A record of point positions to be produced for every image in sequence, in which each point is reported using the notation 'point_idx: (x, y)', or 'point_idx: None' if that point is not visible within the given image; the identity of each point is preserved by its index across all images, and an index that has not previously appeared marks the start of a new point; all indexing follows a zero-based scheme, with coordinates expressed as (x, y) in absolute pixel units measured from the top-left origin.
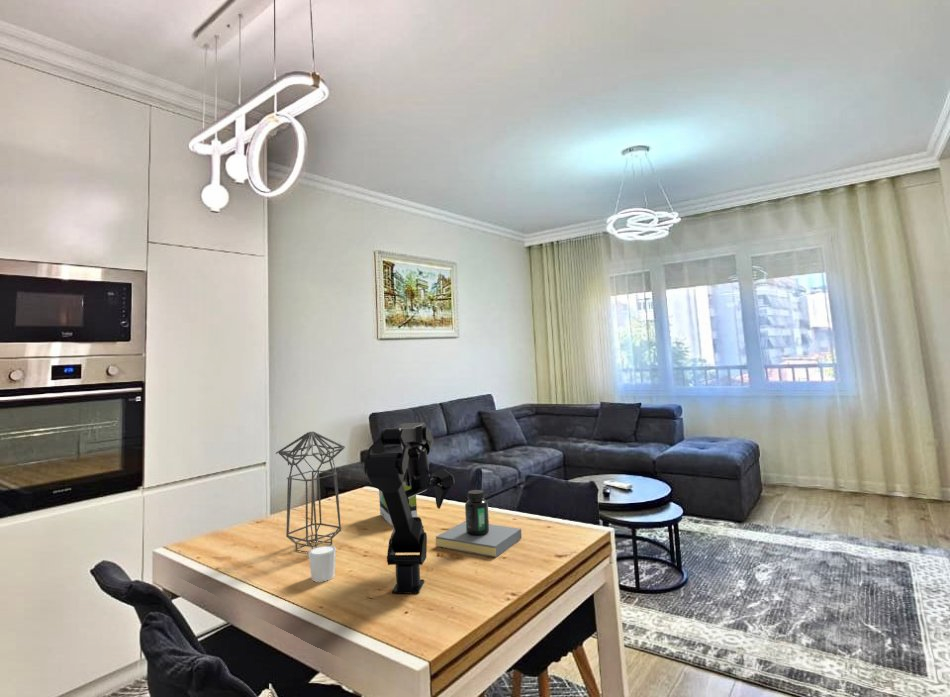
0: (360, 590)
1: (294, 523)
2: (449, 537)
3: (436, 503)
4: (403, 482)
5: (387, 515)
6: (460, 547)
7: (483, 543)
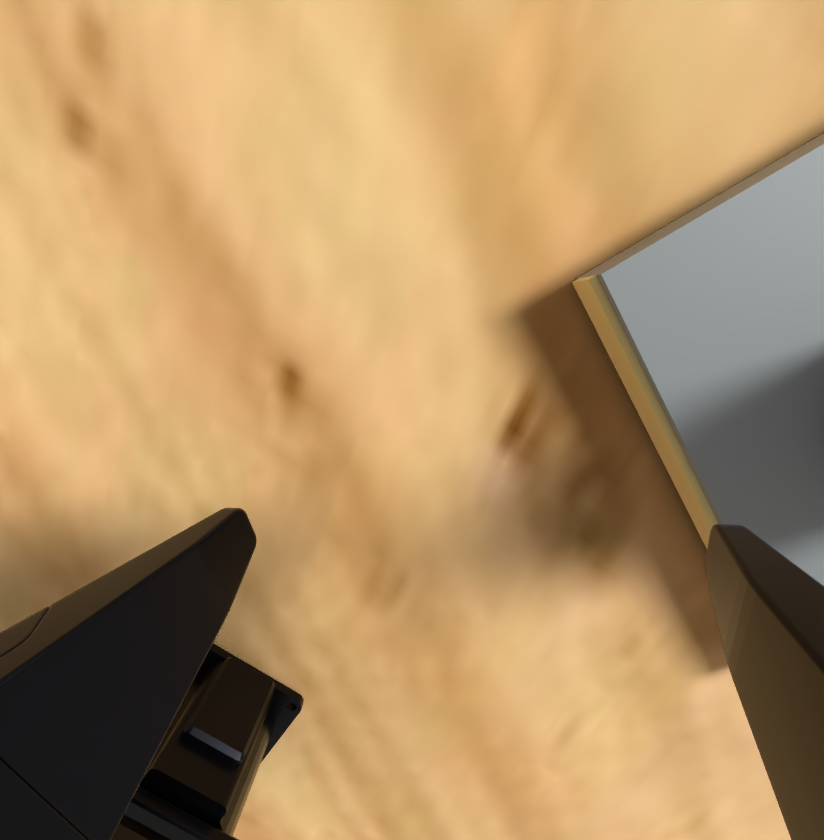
0: (18, 610)
1: None
2: (677, 367)
3: (741, 584)
4: None
5: None
6: (672, 472)
7: None
